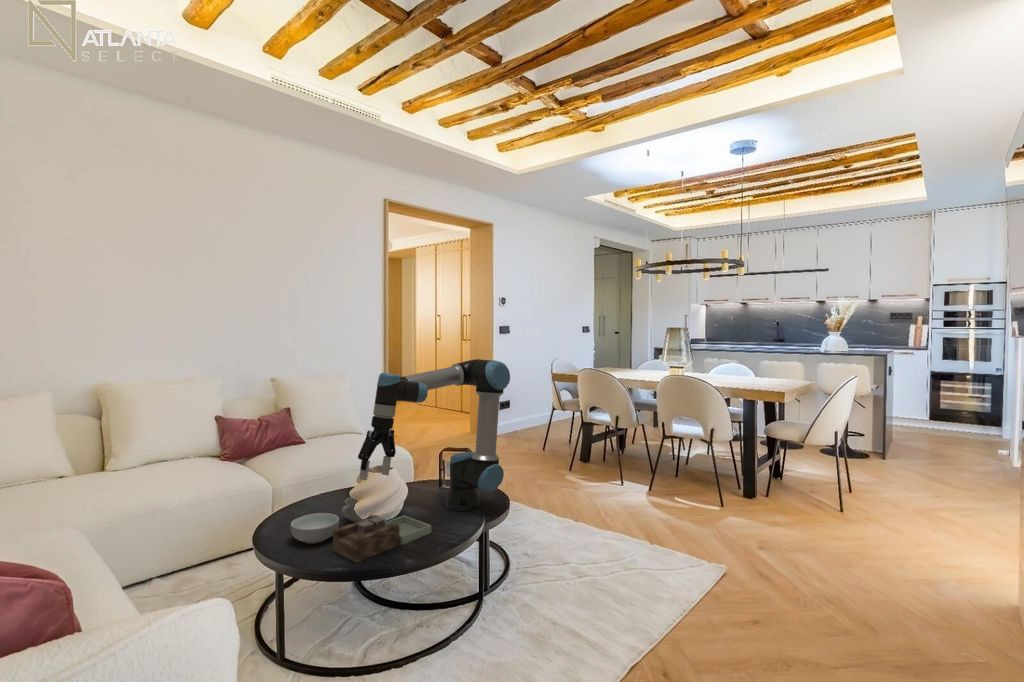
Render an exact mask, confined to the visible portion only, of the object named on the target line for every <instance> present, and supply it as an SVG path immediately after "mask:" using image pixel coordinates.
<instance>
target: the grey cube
mask: <svg viewBox="0 0 1024 682" xmlns="http://www.w3.org/2000/svg"><path fill="white" fill-rule="evenodd" d="M369 522H372V523H374V531H375V530H377V529H380V528H383V527H385V522H386V518H383V517H380V516H379V517H375V518H373V519H370V520H369Z"/></svg>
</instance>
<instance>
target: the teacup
mask: <svg viewBox="0 0 1024 682" xmlns="http://www.w3.org/2000/svg"><path fill="white" fill-rule="evenodd" d="M352 497H353V496H351V497H348V498H346V499H345V500H344V506H343V507H342V509H341V515H342V516H343V517H345V518H346V519H347V520H349V521H350V522H352V523H355V522H358V521H361V520H362V519H361V518H360V517H359V516H358V515H357V514H356V512H355V510H354V507H355V504H356V503H357V501H358V500H356V499H353V498H352Z"/></svg>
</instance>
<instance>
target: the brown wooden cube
mask: <svg viewBox="0 0 1024 682" xmlns="http://www.w3.org/2000/svg"><path fill="white" fill-rule="evenodd" d="M372 531H374V523H372V522H369V521H364V522H361V523H358V524H357V535H359V536H361V535H364V534H367V533H369V532H372Z"/></svg>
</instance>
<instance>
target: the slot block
mask: <svg viewBox="0 0 1024 682" xmlns="http://www.w3.org/2000/svg"><path fill="white" fill-rule="evenodd" d="M375 517H380V516H378V515H372V516H369V517H368V518H366V519H363V520H361V521H358V522H352V523H349V524H347V525H343V526H341V527H338V529H335V530H333V535H332V551H333V552H334V553H336V554H338V555H341V556H342V557H343V558H346V559H347V560H350V561H353V562H354V563H356V564H358V563H360V562H362V560H363V561H365V560H368V559H370V558H372V557H374V556H376V555H378V554H382V553H384V552H386V551H389V550H390V549H394V548H396V547H398V546H400V545H401V544H400V539H399V524H397V523H393V524H391V525H388V526H385V527H383V528H380V529H377V530H375V531H372V532H369V533H367V534H364V535H361V536H359V535H357V524H358V523H361V522H364V521H369V520H370V519H373V518H375ZM357 562H358V563H357Z"/></svg>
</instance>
